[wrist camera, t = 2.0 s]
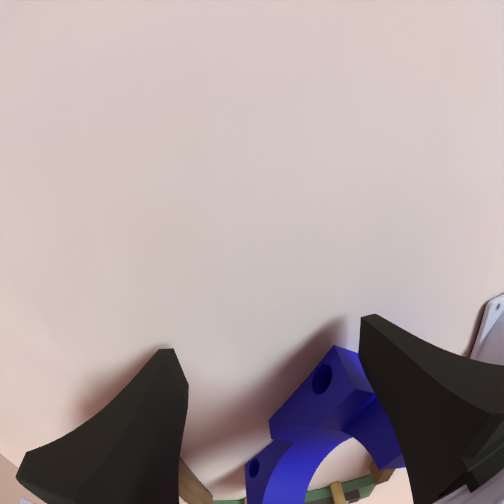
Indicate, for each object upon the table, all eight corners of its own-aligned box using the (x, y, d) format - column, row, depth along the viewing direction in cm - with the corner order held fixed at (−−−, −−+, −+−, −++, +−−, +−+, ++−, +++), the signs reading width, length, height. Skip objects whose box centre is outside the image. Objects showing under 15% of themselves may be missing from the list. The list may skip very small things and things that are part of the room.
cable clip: (333, 343, 12) (382, 449, 6) (393, 363, 13) (444, 444, 7) (225, 459, 15) (225, 532, 9) (280, 468, 16) (290, 533, 10)
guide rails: (424, 351, 12) (441, 372, 11) (381, 464, 17) (387, 480, 15) (123, 401, 12) (113, 427, 11) (199, 495, 17) (199, 512, 16)
